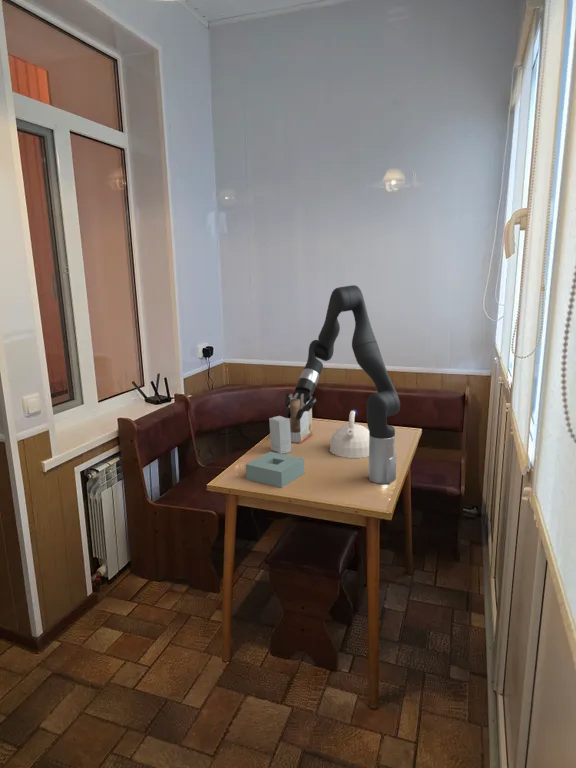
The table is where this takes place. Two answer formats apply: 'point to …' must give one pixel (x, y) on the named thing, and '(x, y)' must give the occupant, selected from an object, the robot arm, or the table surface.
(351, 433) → the kettle
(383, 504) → the table surface
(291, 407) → the walnut pin
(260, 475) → the slate bore block
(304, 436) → the cracker box
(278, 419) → the skincare box
